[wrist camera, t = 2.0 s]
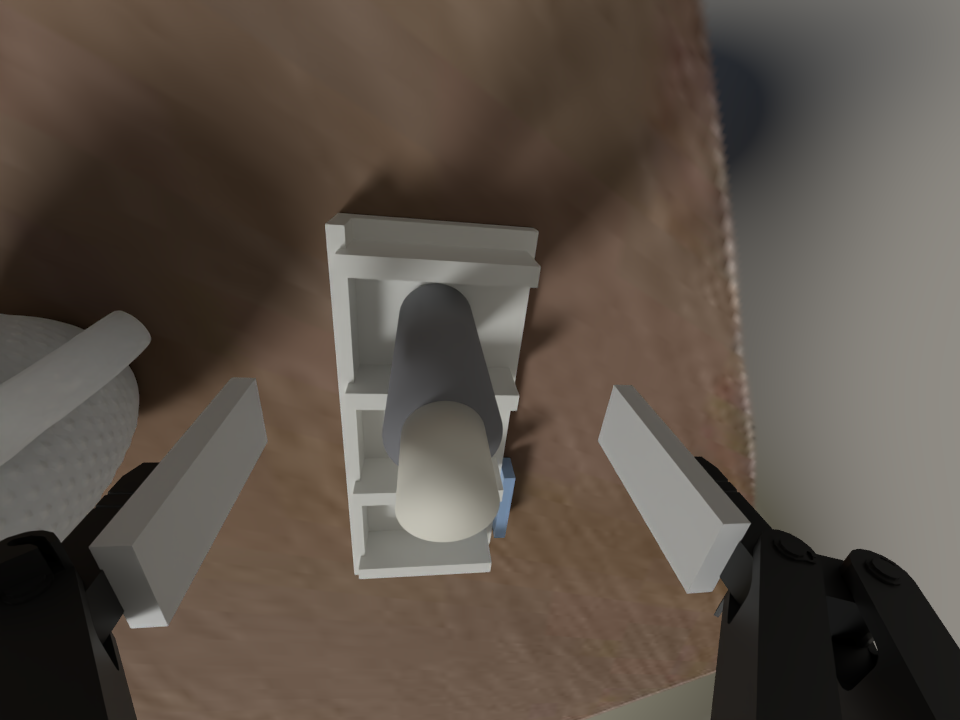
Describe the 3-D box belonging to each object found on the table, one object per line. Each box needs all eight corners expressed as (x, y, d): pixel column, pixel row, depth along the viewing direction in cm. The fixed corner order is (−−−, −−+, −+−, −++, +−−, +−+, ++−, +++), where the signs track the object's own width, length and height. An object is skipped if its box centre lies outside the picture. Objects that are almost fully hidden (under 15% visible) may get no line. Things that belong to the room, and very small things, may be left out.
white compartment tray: (338, 212, 20) (319, 228, 16) (548, 228, 21) (572, 246, 18) (360, 538, 31) (352, 588, 28) (497, 532, 33) (506, 579, 29)
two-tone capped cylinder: (398, 281, 21) (368, 450, 10) (475, 285, 21) (531, 449, 10) (399, 350, 23) (374, 559, 11) (469, 352, 23) (511, 552, 12)
